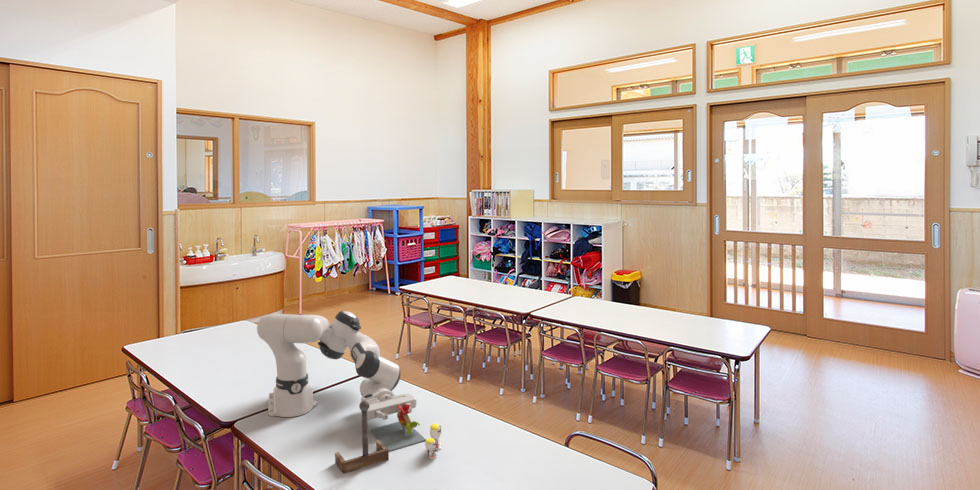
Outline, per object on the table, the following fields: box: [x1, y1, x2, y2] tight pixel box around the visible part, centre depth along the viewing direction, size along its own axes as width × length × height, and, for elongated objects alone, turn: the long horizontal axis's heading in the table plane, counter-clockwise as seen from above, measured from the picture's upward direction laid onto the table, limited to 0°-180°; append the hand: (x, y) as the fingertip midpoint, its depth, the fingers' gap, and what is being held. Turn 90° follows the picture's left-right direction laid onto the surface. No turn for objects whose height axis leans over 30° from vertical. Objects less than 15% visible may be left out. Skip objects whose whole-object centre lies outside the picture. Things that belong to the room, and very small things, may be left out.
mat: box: [369, 421, 427, 453], centre depth 193 cm, size 18×14×1 cm
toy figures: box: [424, 423, 442, 460], centre depth 183 cm, size 12×4×8 cm, turn 172°
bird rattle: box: [396, 404, 421, 434], centre depth 195 cm, size 6×11×9 cm
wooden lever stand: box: [334, 401, 389, 475], centre depth 174 cm, size 9×15×22 cm, turn 124°
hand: (398, 414), depth 192 cm, fingers open, 8 cm apart
